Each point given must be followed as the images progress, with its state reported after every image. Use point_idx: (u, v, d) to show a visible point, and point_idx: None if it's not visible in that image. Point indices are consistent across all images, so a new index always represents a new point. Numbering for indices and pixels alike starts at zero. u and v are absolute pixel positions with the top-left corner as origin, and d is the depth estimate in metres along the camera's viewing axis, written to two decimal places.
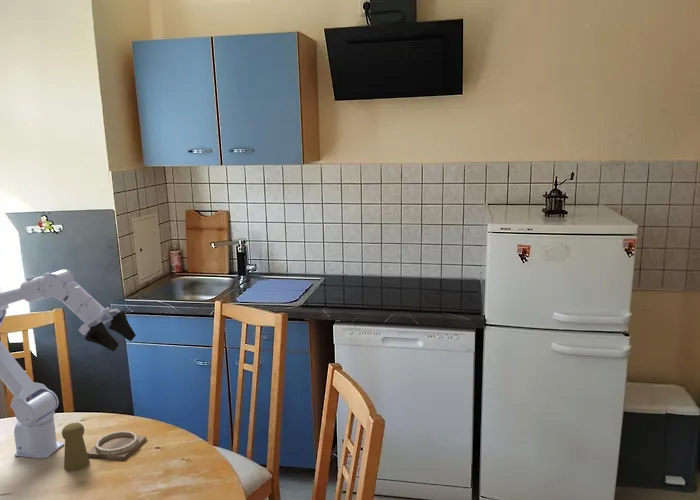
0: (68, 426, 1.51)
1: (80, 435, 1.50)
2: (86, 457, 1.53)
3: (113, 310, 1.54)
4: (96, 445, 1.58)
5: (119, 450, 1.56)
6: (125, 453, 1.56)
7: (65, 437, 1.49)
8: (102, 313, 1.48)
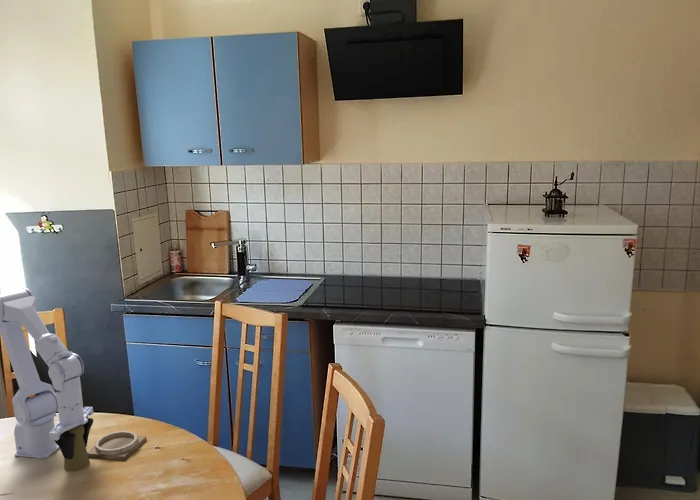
0: None
1: (80, 435, 1.50)
2: (86, 457, 1.53)
3: (88, 413, 1.55)
4: (96, 445, 1.58)
5: (119, 450, 1.56)
6: (125, 453, 1.56)
7: None
8: (78, 424, 1.49)
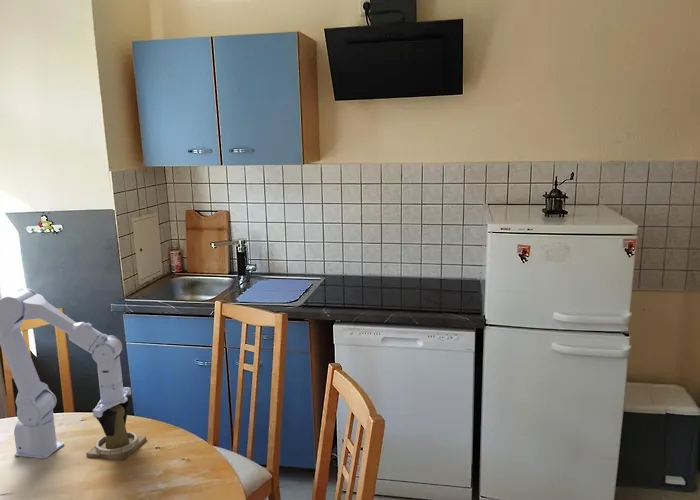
0: None
1: (122, 415, 1.59)
2: (127, 436, 1.61)
3: (127, 392, 1.63)
4: (96, 445, 1.58)
5: (119, 450, 1.56)
6: (125, 453, 1.56)
7: None
8: (119, 402, 1.57)
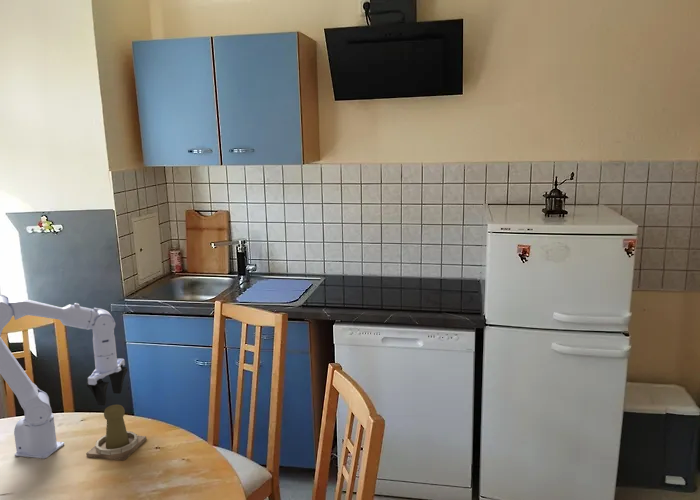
0: (110, 407, 1.58)
1: (122, 415, 1.59)
2: (127, 436, 1.61)
3: (121, 363, 1.70)
4: (96, 445, 1.58)
5: (119, 450, 1.56)
6: (125, 453, 1.56)
7: (108, 418, 1.57)
8: (113, 371, 1.64)
